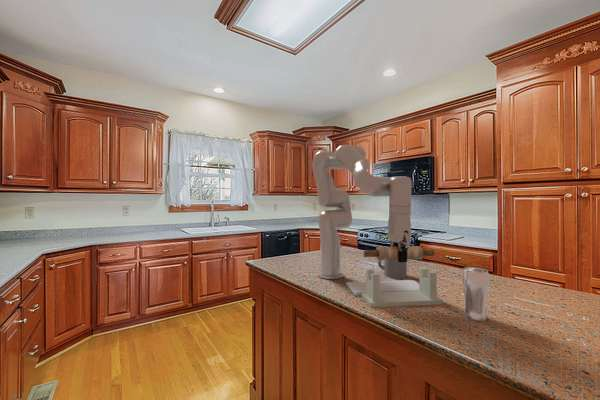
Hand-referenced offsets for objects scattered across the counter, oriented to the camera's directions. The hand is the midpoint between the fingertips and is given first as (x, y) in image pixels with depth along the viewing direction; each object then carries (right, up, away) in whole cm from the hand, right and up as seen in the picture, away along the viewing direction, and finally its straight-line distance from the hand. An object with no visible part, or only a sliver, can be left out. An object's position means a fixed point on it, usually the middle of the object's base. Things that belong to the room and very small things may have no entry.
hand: (399, 259), depth 101 cm
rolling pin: (0, 0, +1) cm, 1 cm away
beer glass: (+19, -15, -15) cm, 28 cm away
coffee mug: (+8, -15, +33) cm, 37 cm away
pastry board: (-1, -15, +13) cm, 19 cm away
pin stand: (0, -15, 0) cm, 15 cm away
